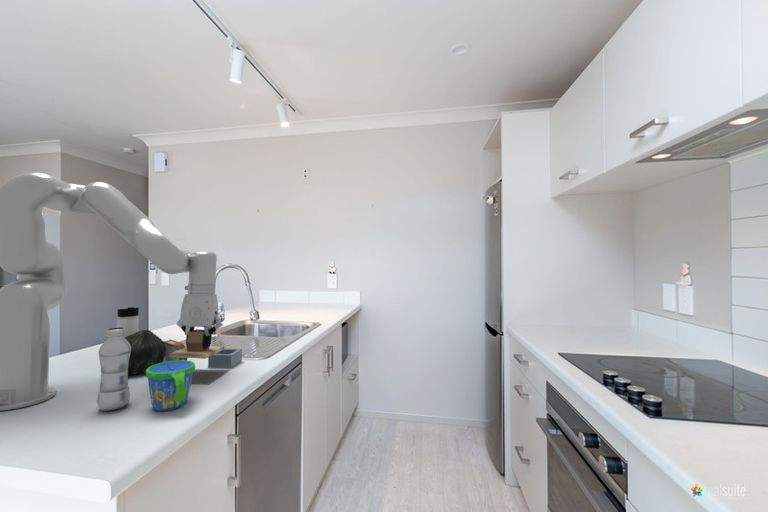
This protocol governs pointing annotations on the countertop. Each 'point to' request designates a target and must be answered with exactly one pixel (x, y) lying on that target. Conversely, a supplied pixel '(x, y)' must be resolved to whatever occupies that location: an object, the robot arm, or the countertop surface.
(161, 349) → the squash
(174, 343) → the brown curved piece
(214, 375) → the mat
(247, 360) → the countertop surface
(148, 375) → the snack cup
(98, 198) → the robot arm
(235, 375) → the countertop surface
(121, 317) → the travel mug
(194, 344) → the lid
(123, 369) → the plastic bottle
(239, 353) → the dish
